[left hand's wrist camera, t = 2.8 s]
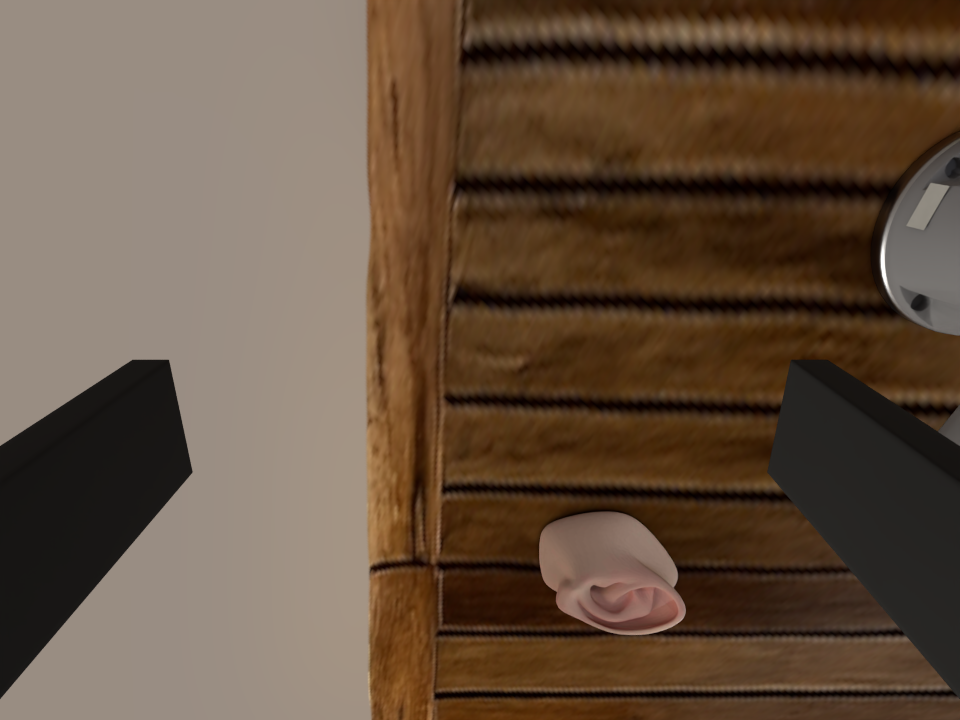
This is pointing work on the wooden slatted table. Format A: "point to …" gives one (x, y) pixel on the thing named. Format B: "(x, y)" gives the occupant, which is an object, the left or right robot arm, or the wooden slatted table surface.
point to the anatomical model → (610, 573)
